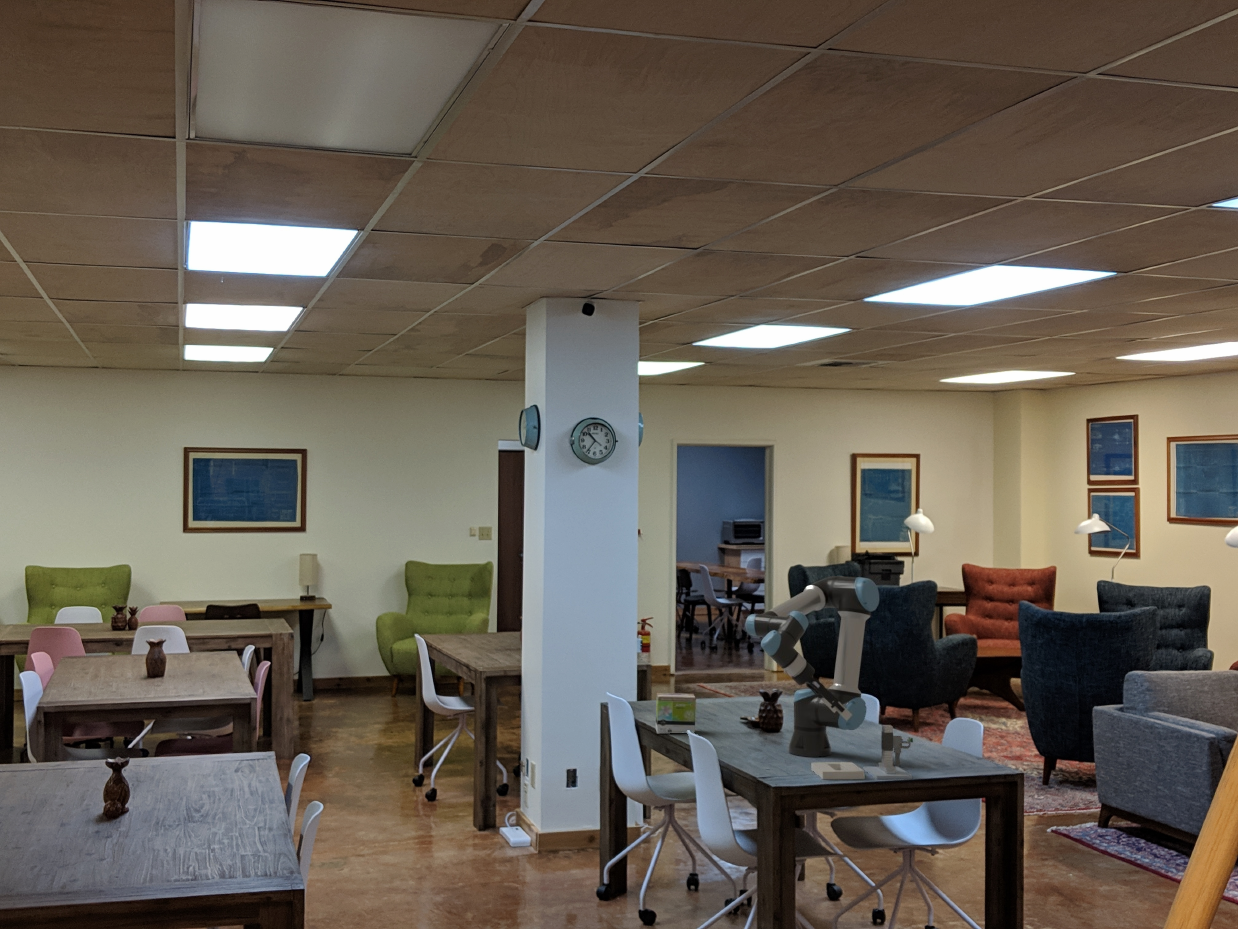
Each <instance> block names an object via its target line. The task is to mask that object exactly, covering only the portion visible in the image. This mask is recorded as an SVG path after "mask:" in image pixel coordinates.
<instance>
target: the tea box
mask: <svg viewBox="0 0 1238 929" xmlns="http://www.w3.org/2000/svg"><path fill="white" fill-rule="evenodd" d="M655 699H656V700H655V730H656V734H670V733H682V732H684V733H686V731H687V730H690V731H693V732H695V731H696V709H697V708H696V707H697V706H696V704H697V702H696V700H697V699H696V696H695V694H694V693H681V692H680V693H678V692H677V693H676V692H673V693H672V692H656V698H655Z"/></svg>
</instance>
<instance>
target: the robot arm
mask: <svg viewBox="0 0 1238 929" xmlns="http://www.w3.org/2000/svg"><path fill="white" fill-rule="evenodd" d="M879 604H880V592H879V589H878V586H877V585H876V583H875V582H874V581H873V580H872V579H870V578H867V577H861V576H858V577H857V576H841V575H840V576H839V575H838V576H837V575H836V576H835V575H834V576H829V577H826V578H825V577H824V578H822V579H819V580H817V581H815V582H813V583H811V584H809V585H807V586H806V587H805V588H804V590H803V592H800V593H798V594H797V595H795V596H793V597H790V598H789V599H787V600H785V601H784V602H782V603H780V604H778V605H775V607H772V608H771V609H769V610H767V611H765V612H763V613H761V614H760V613H754V614H753V613H752V614H749V615H748V616H747V618H746V619H745V631H746V632H747V634H748V635H750V636H754V637H757V638H758V637H761V638H762V640H761V642H760V646H761V648H762V650H763V651H764V652H765V653H766V655H767V656H769V657H770V658H771V659H772V660H773V661H774V662H775V663H776V664H777V665H778V666H779V667H780V668H781V669H782V670H783V674H788V675H789V677H791V679H792V680H793V681H794V682H795V683H796V684H797V685H798V686H803V685H805V686H806V687H807V688H802V689H798V690H796V691H795V692H794V695H793V732H792V735H791V739H790V741H789V745H788V753H789V754H791V755H794V756H798V757H799V756H800V757H808V758H809V757H812V758H814V757H815V758H818V757H819V756H821V757H826V756H830V755H832V747H831V743H830V741H829V736H828V734H827V728H834V729H840V730H842V731H854V730H857V729H859V728H860V727H861V725H862V724H863V723H864V721H865V718H866V716H867V705H866V701H865V700H864V699H863V698H862V692H861V690H859V678H860V671H861V670H860V669H861V662H862V653H863V646H864V636H865V629H866V628H865V627H866V621H868V619H869V618H871V614H872V613H871V612H874V611H876V609H877V607H878V606H879ZM826 608H829V609H830V608H832V609H833V608H834V609H837V613H838V615H839V616H840V619H841V620H840V627H839V634H838V643H837V651H836V659H835V665H834V666H835V667H834V678H833V684H832V685H830V686H829V687H828V688H826V687H825V686H824V685H823V683H822V682H821V681H820V680H819V679H818V678H817V677H814V674H815V673H816V672H815V671H816V670H815V668H814V667H813V666H812V665H811V663H809V662H807V659H805V658H804V656H802V654H800V653H799V652H798V651H797V650H796V648H795V646H796V645H797V643H798V642H799V641H800V639H801V638H802V636H804V634H805V632H806V630H807V628H808V627H809V625H810V624H809V619H808V617H807V616H806V615H808V614H809V613H812V612H814V611H820V610H822V609H826Z"/></svg>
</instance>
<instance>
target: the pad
mask: <svg viewBox="0 0 1238 929" xmlns="http://www.w3.org/2000/svg"><path fill="white" fill-rule="evenodd" d="M895 767H896V774H886V773H884V772H883V771H881V770H880V769H879V766H863V768H862V770H863V771H864V770H865V773H867V772H868V775H870V776H871V775H872V776H871V777H873V778H874V779H875V780H895V779H896V780H912V779H913V776H912V774H911V773H909V772H907V771H905V770H904V769H902V768H901V767H900V766H895Z"/></svg>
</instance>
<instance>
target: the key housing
mask: <svg viewBox="0 0 1238 929" xmlns="http://www.w3.org/2000/svg"><path fill="white" fill-rule="evenodd" d="M810 765H811V768H810V769H811V771H812V772H813V771H814V772H815V773H814V772H813V773H814V774H816V775H817V776H818V775H819V776H820V777H821V778H820V777H819V776H818V777H819V778H820V779H821V780H865V777H866V776H865V775H866V774H865V773H866V771H864V770H863V768H860V766H857V765H856V764H855V763H853V762H851V761H850V762H845V761H844V762H841V761H840V762H836V761H835V762H831V761H830V762H825V761H824V762H823V761H821V762H811V764H810Z"/></svg>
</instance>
